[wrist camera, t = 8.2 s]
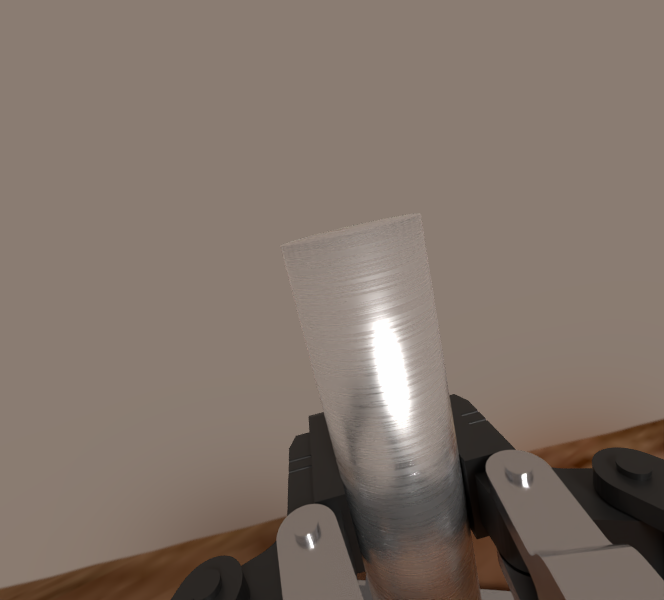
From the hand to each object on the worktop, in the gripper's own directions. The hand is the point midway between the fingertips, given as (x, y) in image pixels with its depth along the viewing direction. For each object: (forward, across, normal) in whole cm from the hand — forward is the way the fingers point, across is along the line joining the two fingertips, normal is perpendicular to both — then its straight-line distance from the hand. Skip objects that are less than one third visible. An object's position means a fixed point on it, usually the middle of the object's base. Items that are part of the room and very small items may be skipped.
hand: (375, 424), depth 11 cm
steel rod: (-3, 0, +10) cm, 10 cm away
